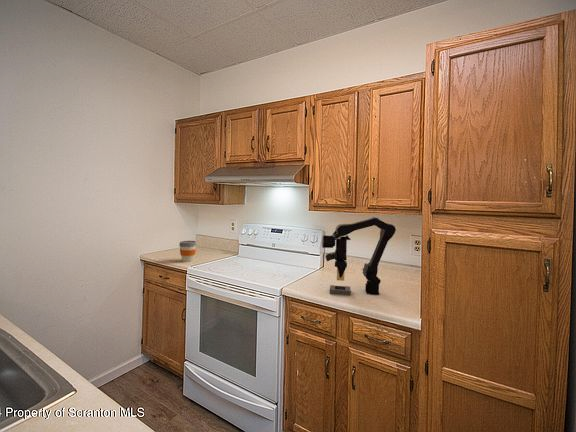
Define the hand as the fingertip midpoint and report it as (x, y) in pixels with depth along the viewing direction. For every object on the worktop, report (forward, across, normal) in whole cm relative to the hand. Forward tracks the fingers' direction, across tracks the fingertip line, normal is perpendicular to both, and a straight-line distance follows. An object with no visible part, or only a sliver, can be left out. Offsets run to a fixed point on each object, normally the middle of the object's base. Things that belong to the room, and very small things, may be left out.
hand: (340, 276), depth 157 cm
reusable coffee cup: (+9, -48, -119) cm, 128 cm away
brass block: (+2, 0, 0) cm, 2 cm away
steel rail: (+9, 0, 0) cm, 9 cm away
